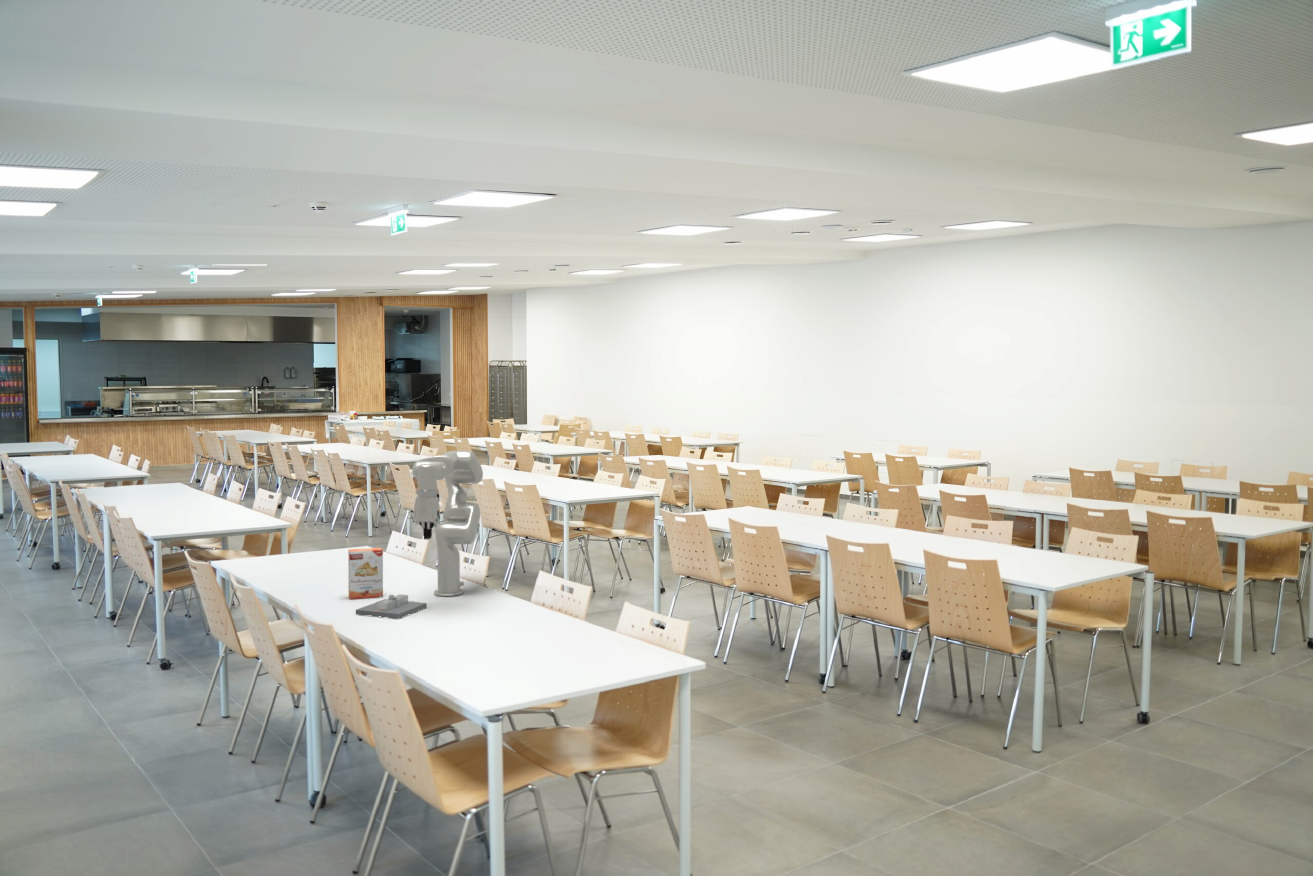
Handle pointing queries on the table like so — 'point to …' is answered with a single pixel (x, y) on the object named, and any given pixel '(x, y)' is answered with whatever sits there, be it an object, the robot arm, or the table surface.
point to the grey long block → (393, 602)
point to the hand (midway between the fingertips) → (427, 538)
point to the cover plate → (392, 613)
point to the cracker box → (365, 573)
